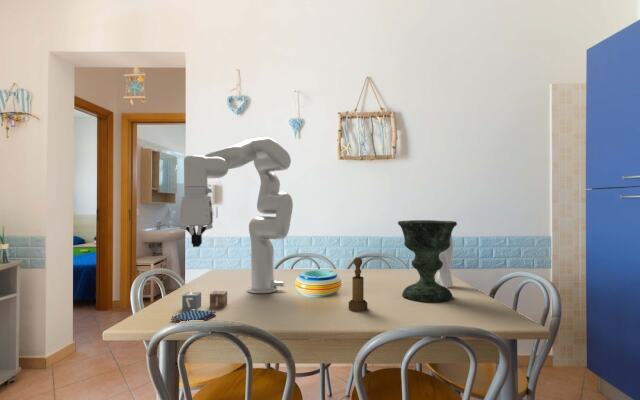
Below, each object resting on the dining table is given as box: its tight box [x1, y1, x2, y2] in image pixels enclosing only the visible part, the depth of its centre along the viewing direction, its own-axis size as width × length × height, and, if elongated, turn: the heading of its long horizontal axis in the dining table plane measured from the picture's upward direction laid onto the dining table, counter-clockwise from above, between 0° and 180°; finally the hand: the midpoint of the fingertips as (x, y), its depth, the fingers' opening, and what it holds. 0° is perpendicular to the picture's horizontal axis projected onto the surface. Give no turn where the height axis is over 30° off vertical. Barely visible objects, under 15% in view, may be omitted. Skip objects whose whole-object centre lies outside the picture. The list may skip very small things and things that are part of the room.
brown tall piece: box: [348, 257, 369, 312], centre depth 133 cm, size 7×6×18 cm
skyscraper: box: [434, 234, 454, 288], centre depth 170 cm, size 8×8×28 cm
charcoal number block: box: [181, 291, 202, 311], centre depth 135 cm, size 5×5×5 cm
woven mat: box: [170, 309, 217, 323], centre depth 122 cm, size 10×11×2 cm
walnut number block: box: [209, 290, 228, 309], centre depth 137 cm, size 5×5×5 cm
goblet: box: [397, 219, 458, 303], centre depth 150 cm, size 22×23×30 cm
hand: (196, 246), depth 128 cm, fingers closed
